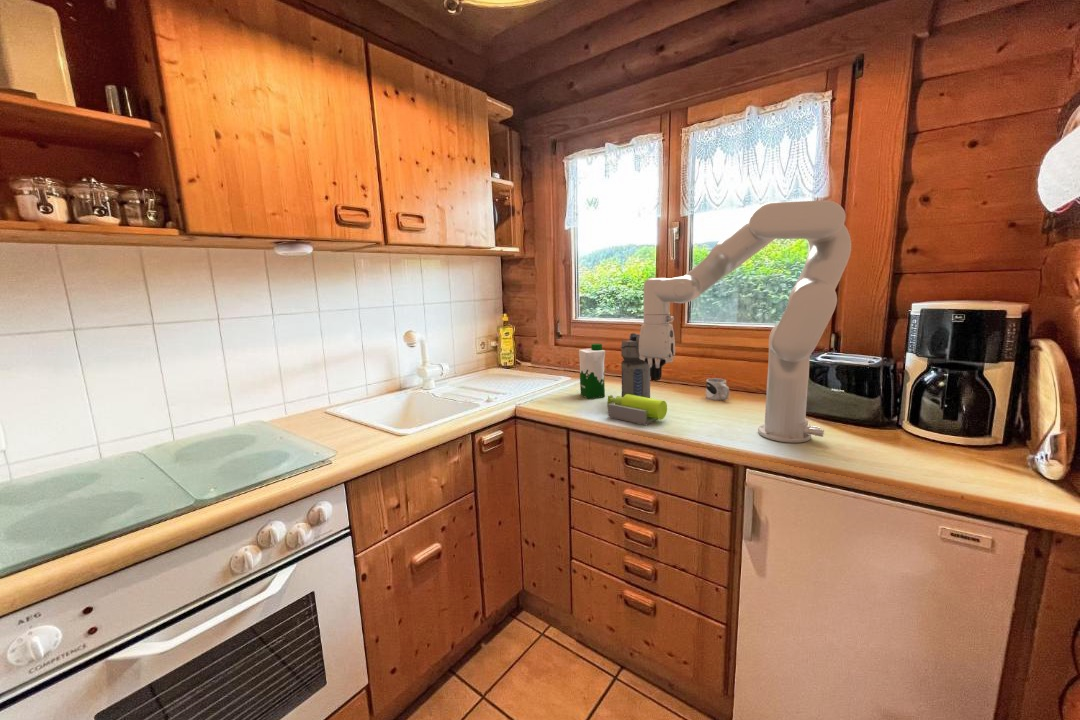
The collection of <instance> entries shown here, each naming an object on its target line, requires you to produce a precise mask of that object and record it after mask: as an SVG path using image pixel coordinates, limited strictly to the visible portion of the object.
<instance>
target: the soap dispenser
mask: <svg viewBox="0 0 1080 720" xmlns="http://www.w3.org/2000/svg"><path fill="white" fill-rule="evenodd" d="M608 404H615V405H620V406H625V407H631V408H636V409H641V410H647V417H651V418H655V419H656V420H663V419H664V418H665V417H666V416H667V413H668V404H667V402H666V401H665V400H662V399H656V398H652V397H650V398H646V397H641V396H636V395H630V394H626V395H625V396H624V397H622V395H621V396H619V395H617V396H616V397H613V395H612V394H610V395H607V401H606V405H607V406H606V408H607V409H608Z"/></svg>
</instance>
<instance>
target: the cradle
mask: <svg viewBox="0 0 1080 720" xmlns="http://www.w3.org/2000/svg"><path fill="white" fill-rule="evenodd" d="M607 413H608V417H609V419H615V420H620V421H623V422H624V421H625V422H629V423H632V424H633V423H634V424H638V425H643V426H647V425H649V424H650V423H652V422H655V421H656V420H657V419H655V418H651V417H647V410H641V409H636V408H631V407H625V406H620V405H615V403H612V404H608V408H607Z"/></svg>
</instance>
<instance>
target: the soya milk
mask: <svg viewBox="0 0 1080 720" xmlns="http://www.w3.org/2000/svg"><path fill="white" fill-rule="evenodd" d="M578 355H579V356H578V358H579V385H580V386H579V387H580V396H582V397H584V398H585V399H587V400H590V399H591V400H592V399H598V398H605V397H606V395H605V394H606V393H605V390H606V389H605V386H606V385H605V356H606V350H604V349H603V344H602V343H591V348H583V349H578Z"/></svg>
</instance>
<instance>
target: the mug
mask: <svg viewBox="0 0 1080 720" xmlns="http://www.w3.org/2000/svg"><path fill="white" fill-rule="evenodd" d="M705 383H706V384H705V398H706V399H707V400H711V401H724V400H728V399H729V397H730V387H729V386H728V385H727V380H726V379H723V378H719V377H718V378H716V377H713V378H707V379H706V380H705Z"/></svg>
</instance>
